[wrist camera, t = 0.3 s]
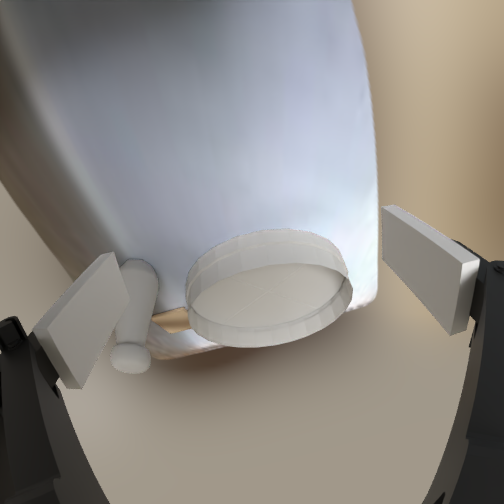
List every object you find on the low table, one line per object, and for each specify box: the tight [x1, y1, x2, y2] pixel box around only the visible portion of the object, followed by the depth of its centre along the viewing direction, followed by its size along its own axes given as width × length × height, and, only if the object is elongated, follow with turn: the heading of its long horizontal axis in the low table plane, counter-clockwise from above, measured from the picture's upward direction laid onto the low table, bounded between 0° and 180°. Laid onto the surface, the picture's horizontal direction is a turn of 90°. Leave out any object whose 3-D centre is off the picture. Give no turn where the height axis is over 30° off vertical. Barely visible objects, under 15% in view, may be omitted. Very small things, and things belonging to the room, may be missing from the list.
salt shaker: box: [110, 259, 159, 373], centre depth 33 cm, size 6×6×13 cm
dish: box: [186, 229, 353, 347], centre depth 42 cm, size 22×22×5 cm
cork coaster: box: [151, 307, 191, 334], centre depth 48 cm, size 6×6×1 cm
